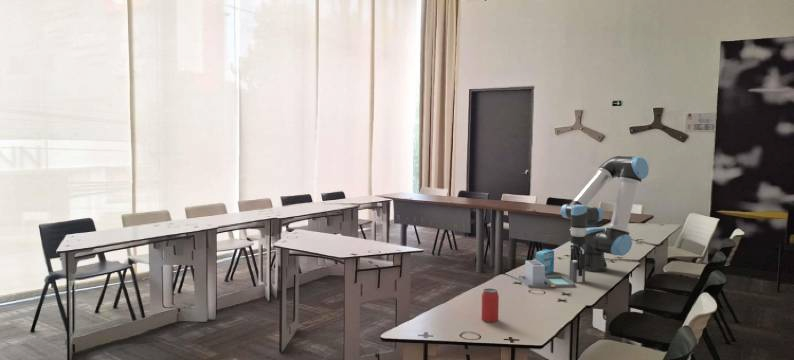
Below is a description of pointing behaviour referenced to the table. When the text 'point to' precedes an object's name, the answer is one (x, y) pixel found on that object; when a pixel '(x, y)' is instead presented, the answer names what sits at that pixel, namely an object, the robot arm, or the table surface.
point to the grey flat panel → (550, 282)
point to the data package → (546, 259)
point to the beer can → (490, 305)
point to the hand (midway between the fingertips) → (577, 280)
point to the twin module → (534, 272)
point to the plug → (575, 271)
